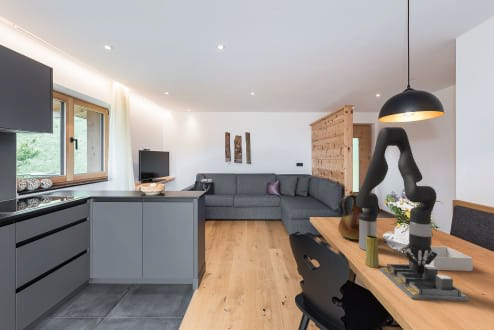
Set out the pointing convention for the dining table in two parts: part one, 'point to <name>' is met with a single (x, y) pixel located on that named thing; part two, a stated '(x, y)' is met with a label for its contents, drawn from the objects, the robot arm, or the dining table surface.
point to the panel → (419, 284)
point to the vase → (372, 251)
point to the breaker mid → (430, 272)
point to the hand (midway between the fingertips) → (419, 273)
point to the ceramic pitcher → (350, 220)
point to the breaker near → (444, 282)
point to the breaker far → (411, 265)
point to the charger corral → (451, 259)
